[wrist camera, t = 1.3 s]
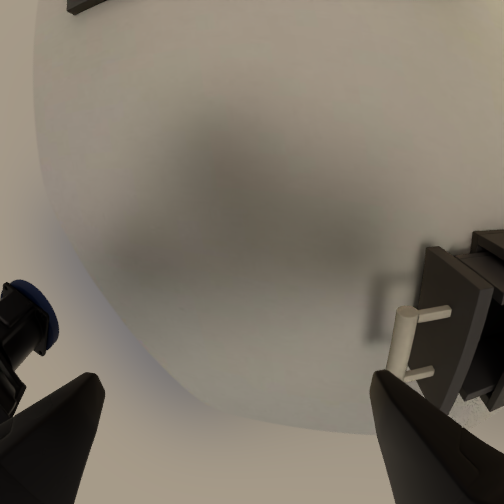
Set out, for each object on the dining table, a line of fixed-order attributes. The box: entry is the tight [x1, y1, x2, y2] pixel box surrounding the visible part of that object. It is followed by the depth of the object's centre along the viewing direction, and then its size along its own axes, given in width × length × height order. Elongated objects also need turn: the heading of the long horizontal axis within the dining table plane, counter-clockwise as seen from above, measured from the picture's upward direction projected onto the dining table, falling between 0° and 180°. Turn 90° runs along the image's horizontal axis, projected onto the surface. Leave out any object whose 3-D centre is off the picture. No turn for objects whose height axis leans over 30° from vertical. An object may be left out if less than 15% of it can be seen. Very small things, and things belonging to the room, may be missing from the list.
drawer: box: [386, 246, 504, 415], centre depth 17 cm, size 15×10×7 cm
